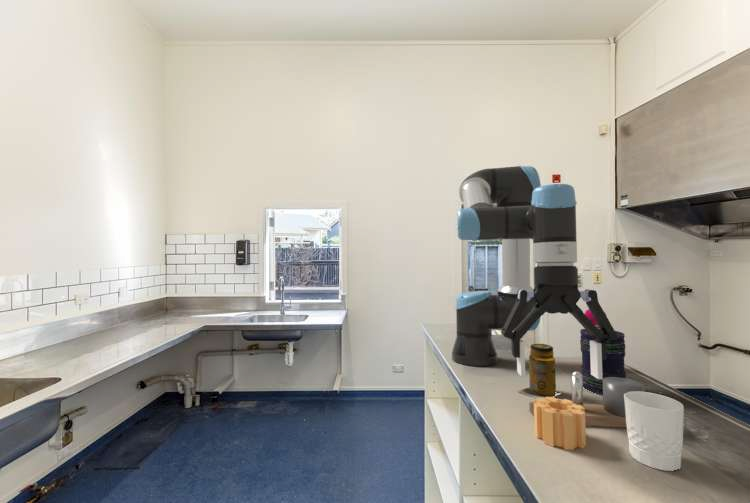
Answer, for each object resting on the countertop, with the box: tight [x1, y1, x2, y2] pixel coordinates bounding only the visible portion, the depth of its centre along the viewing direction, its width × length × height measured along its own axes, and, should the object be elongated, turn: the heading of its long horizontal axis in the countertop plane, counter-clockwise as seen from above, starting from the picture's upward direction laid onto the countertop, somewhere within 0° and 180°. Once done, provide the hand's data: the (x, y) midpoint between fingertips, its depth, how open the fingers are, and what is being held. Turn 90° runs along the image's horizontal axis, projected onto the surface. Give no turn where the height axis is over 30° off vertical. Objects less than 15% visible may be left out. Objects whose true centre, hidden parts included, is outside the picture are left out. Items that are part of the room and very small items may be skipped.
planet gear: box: [533, 397, 587, 451], centre depth 65 cm, size 9×9×6 cm
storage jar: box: [579, 328, 627, 397], centre depth 88 cm, size 10×10×15 cm
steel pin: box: [571, 370, 584, 407], centre depth 72 cm, size 2×2×8 cm
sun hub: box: [602, 377, 645, 418], centre depth 71 cm, size 7×7×6 cm
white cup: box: [624, 391, 685, 472], centre depth 57 cm, size 8×8×10 cm
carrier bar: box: [528, 401, 627, 429], centre depth 72 cm, size 6×22×2 cm, turn 82°
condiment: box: [517, 343, 558, 399], centre depth 87 cm, size 7×8×12 cm
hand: (558, 375), depth 65 cm, fingers open, 13 cm apart
